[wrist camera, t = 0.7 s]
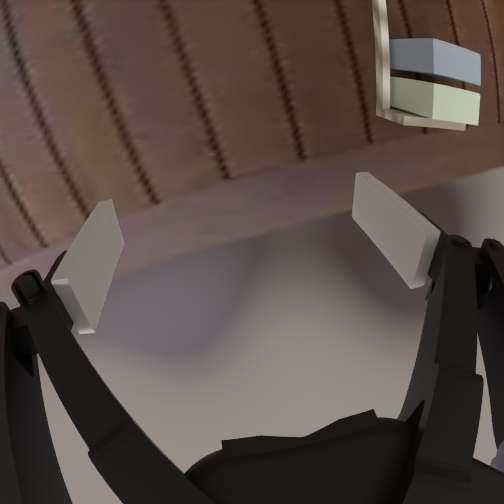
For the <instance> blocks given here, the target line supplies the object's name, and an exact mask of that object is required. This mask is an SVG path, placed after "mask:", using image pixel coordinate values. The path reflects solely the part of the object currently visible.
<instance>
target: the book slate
mask: <svg viewBox="0 0 504 504" xmlns="http://www.w3.org/2000/svg"><path fill="white" fill-rule="evenodd" d="M389 53H390V69H396V70H403V71H409V72H415V73H420V74H426V75H431V76H435V77H441V78H447V79H452V80H457V81H462V82H467V83H471V84H476V85H480V80H481V63H480V54H478V53H475V52H473V51H470V50H467V49H465V48H462V47H459V46H456V45H453V44H450V43H447V42H444V41H441V40H437V39H434V38H411V39H391V40H389Z"/></svg>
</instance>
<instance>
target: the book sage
mask: <svg viewBox="0 0 504 504" xmlns="http://www.w3.org/2000/svg"><path fill="white" fill-rule="evenodd" d="M479 105H480V94H478V93H474V92H471V91H467V90H463V89H458V88H454V87H450V86H445V85H440V84H435V83H430V82H425V81H419V80H412V79H406V78H399V77H391V76H390V106H392V107H395V108H399V109H402V110H406V111H409V112H412V113H415V114H418V115H421V116H424V117H427V118H430V119H434V120H443V121H451V122H458V123H465V124H472V125H478V118H479Z"/></svg>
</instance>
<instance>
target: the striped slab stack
mask: <svg viewBox="0 0 504 504" xmlns="http://www.w3.org/2000/svg"><path fill="white" fill-rule="evenodd" d="M372 10H373V21H374V35H375V53H376V115H377V116H380V117H382V118H385V119H388V120H391V121H394V122H396V123H399V124H402V125H409V126H423V127H435V128H445V129H455V130H463V131H465V127H466V124H465V123H458V122H451V121H443V120H434V119H430V118H427V117H424V116H421V115H418V114H415V113H412V112H409V111H406V110H402V109H395V108H390V53H389V34H388V20H387V9H386V0H372Z"/></svg>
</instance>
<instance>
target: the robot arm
mask: <svg viewBox="0 0 504 504" xmlns="http://www.w3.org/2000/svg"><path fill="white" fill-rule="evenodd" d="M352 217H353V219H354V220H355V221H356V222H357V223H358V225H359V226H360V227H361V228H362V229H363V230H364V232H365V233H366V234H367V235H368V236H369V237H370V239H371V240H372V241H373V242H374V243H375V245H376V246H377V247H378V248H379V249H380V251H381V252H382V253H383V254H384V256H385V257H386V258H387V259H388V260H389V262H390V263H391V264H392V266H393V267H394V268H395V269H396V270H397V272H398V273H399V274H400V276H401V277H402V278H403V280H404V281H405V282H406V283H407V285H408V286H409V287H410V289H412V288H417V287H421V286H424V284H425V281H426V278H427V275H429V276H430V278H431V279H432V282H431V285H430V288H429V290H428V293H427V295H426V298H425V300H427V299H428V302H427V308H426V314H425V320H424V326H423V330H422V335H421V340H420V344H419V349H418V353H417V358H416V362H415V366H414V369H413V373H412V378H411V381H410V385H409V388H408V391H407V395H406V399H405V401H404V404H403V408H402V410H401V413H400V415H399V416H398V418H397V419H392V418H381V417H378V418H377V416H376V414H375V411H374V409H372V410H369V411H366V412H363V413H360V414H356V415H352V416H349V417H346V418H342V419H339V420H337V421H335V422H333V423H331V424H329V425H328V426H326V427H324V428H322V429H320V430H318V431H316V432H314V433H312V434H310V435H308V436H305V437H277V436H255V437H247V438H239V439H230V440H222V449H221V450H219V451H216V452H214V453H211V454H209V455H207V456H205V457H204V458H202V459H200V460H199V461H198V462H196V463H195V464H194V465H192V466H191V467H190V468H189V469H188V470H187V471H186V472H185V474H184V473H183V472H182V471H181V470H180V469H179V468H178V467H177V466H176V465H175V464H174V463H173V462H172V461H171V460H170V459H168V457H166V455H165V454H164V453H163V452H162V451H161V450H160V449H159V448H158V447H157V446H156V445H155V443H154V442H153V441H152V440H151V439H150V438H149V437H148V436H147V435H146V433H145V432H144V431H143V430H142V429H141V428H140V427H139V425H138V424H137V423H136V422H135V421H134V420H133V418H132V417H131V416H130V415H129V413H128V412H127V411H126V410H125V409H124V407H123V406H122V405H121V404H120V402H119V401H118V400H117V398H116V397H115V396H114V395H113V393H112V392H111V390H110V389H109V388H108V387H107V385H106V384H105V382H104V381H103V380H102V378H101V377H100V375H99V374H98V373H97V371H96V370H95V368H94V367H93V365H92V364H91V362H90V361H89V359H88V358H87V356H86V355H85V353H84V352H83V350H82V348H81V347H80V345H79V344H78V342H77V340H76V339H75V337H74V336H73V334H72V332H71V329H72V326H73V324H74V325H75V327H76V329H77V330H78V332H79V334H84V333H95V332H96V328H97V325H98V321H99V318H100V314H101V311H102V308H103V304H104V301H105V298H106V295H107V292H108V289H109V285H110V283H111V280H112V277H113V274H114V271H115V268H116V265H117V263H118V260H119V257H120V254H121V252H122V249H123V246H124V241H123V238H122V234H121V231H120V227H119V224H118V220H117V217H116V213H115V209H114V206H113V202H112V199H111V200H106V201H100V202H99V203H98V204H97V205H96V207H95V208H94V210H93V211H92V213H91V214H90V216H89V217H88V219H87V220H86V222H85V223H84V225H83V226H82V228H81V230H80V231H79V233H78V234H77V236H76V238H75V239H74V241H73V242H72V244H71V246H70V247H69V249H68V250H66V251H64V252H63V253H62V254H61V255H60V256H58V257H57V259H56V261H55V262H54V264H53V266H52V267H51V269H50V272H49V273H48V274H47V276H46V278H45V280H44V281H43V280H42V278H41V276H40V274H39V272H38V271H37V270H29V271H26V272H24V273H22V274H21V275H19V276H18V277H17V278H16V279H15V280H14V282H13V283H12V286H11V289H12V291H13V293H14V295H15V297H16V298H17V300H18V302H19V303H20V305H21V306H20V307H17V308H15V309H12V310H10V309H9V308H8V306H7V305H6V303H4V302H0V504H72V501H71V499H70V496H69V493H68V491H67V488H66V485H65V482H64V479H63V476H62V473H61V470H60V467H59V464H58V460H57V457H56V453H55V450H54V446H53V443H52V438H51V435H50V430H49V426H48V421H47V417H46V412H45V407H44V401H43V395H42V390H41V383H40V376H39V369H38V359H37V354H38V353H39V356H40V358H41V360H42V362H43V365H44V367H45V369H46V371H47V374H48V375H49V378H50V380H51V382H52V384H53V386H54V388H55V390H56V392H57V394H58V396H59V398H60V400H61V402H62V404H63V405H64V407H65V409H66V411H67V413H68V415H69V416H70V418H71V420H72V422H73V423H74V425H75V427H76V428H77V430H78V432H79V433H80V435H81V436H82V438H83V440H84V441H85V443H86V444H87V446H88V447H89V450H90V451H89V452H88V455H89V458H90V459H91V461H92V463H93V464H94V466H95V467H96V469H97V470H98V472H99V473H100V474H101V476H102V477H103V478H104V480H105V481H106V483H107V484H108V485H109V486H110V488H111V489H112V490H113V492H114V493H115V494H116V495H117V497H118V498H119V499H120V500H121V502H122V503H123V504H504V246H503V245H502V244H501V243H500V242H499V241H497V240H495V239H484V241H483V243H482V246H481V248H476V247H472V245H471V243H470V242H469V241H468V240H466V239H465V238H463V237H461V236H458V235H447V234H446V233H445V232H444V231H443V230H442V229H441V228H440V227H438V226H437V225H436V224H434V222H433V221H432V220H430V219H429V218H428V217H427V216H426V215H424V214H423V213H422V212H420V211H418V210H416V209H414V208H413V207H412V206H411V205H409V204H408V203H407V202H406V201H404V200H403V199H402V198H401V197H399V196H398V195H397V194H396V193H394V192H393V191H392V190H391V189H389V188H388V187H387V186H386V185H384V184H383V183H382V182H380V181H379V180H378V179H376V178H375V177H374V176H372V175H371V174H370V173H368V172H360V173H356V180H355V190H354V200H353V210H352ZM477 333H478V337H479V341H480V346H481V350H482V355H483V360H484V366H485V371H486V377H487V383H488V390H489V397H490V406H491V415H492V423H493V432H494V437H495V443H496V447H497V454H496V457H495V458H493V459H492V461H491V465H490V466H489V465H487V464H485V463H483V462H481V461H479V460H477V459H475V458H473V454H474V448H475V443H476V438H477V433H478V427H479V420H480V413H481V405H482V396H483V377H482V376H481V375H478V374H476V356H477Z"/></svg>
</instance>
